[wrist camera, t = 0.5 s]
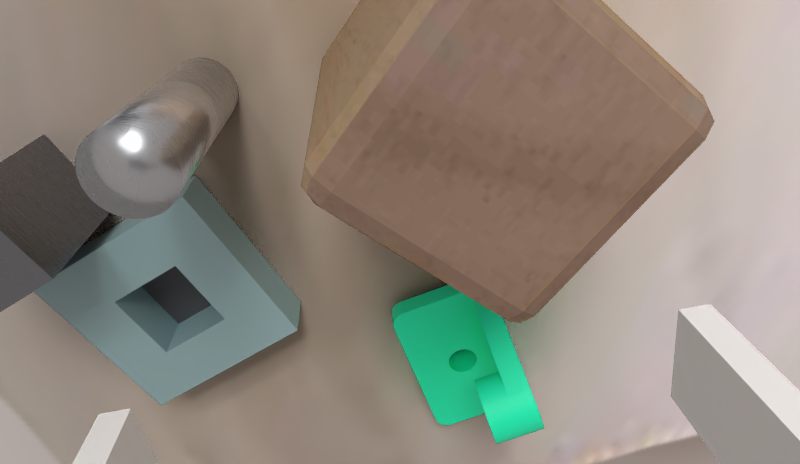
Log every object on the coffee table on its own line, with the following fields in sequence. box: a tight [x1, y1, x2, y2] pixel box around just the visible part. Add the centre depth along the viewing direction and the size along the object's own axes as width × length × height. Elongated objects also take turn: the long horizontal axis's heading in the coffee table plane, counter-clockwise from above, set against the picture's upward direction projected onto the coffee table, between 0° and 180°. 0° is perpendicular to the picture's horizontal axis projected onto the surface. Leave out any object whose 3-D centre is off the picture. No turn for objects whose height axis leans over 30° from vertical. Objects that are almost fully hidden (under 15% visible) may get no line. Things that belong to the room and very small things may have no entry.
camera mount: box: [392, 285, 544, 444], centre depth 41 cm, size 12×8×10 cm, turn 20°
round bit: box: [75, 58, 238, 219], centre depth 29 cm, size 4×4×14 cm
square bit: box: [0, 135, 110, 312], centre depth 33 cm, size 6×6×9 cm
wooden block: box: [301, 0, 714, 323], centre depth 26 cm, size 10×10×20 cm
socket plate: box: [34, 175, 301, 405], centre depth 39 cm, size 12×12×4 cm
